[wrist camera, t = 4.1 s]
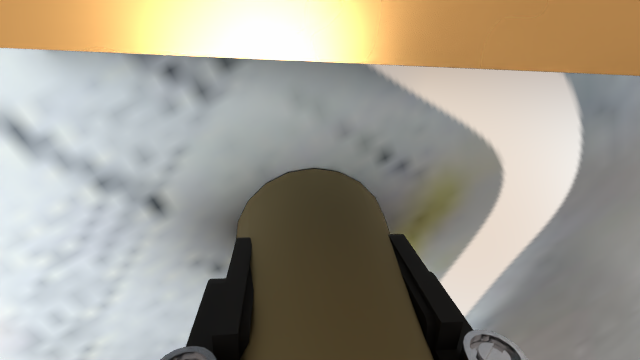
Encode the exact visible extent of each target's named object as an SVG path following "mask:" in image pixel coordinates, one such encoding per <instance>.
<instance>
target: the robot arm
mask: <svg viewBox="0 0 640 360" xmlns="http://www.w3.org/2000/svg"><path fill="white" fill-rule="evenodd" d="M388 236H389V238H390V241H391V244H392V247H393V250H394V253H395V256H396V259H397V262H398V265H399V268H400V271H401V274H402V277H403V279H404V282H405V285H406V288H407V290H408V293H409V296H410V299H411V301H412V304H413V307H414V310H415V312H416V315H417V318H418V320H419V323H420V326H421V329H422V331H423V334H424V337H425V340H426V342H427V344H428V346H429V348H430V351H431V354H432V356H433V359H434V360H528V359H527V357H526V355H525V354H524V353H523V352H522V350H521V349H520V348H519V347H518V346H517V345H516V344H514V343H513V342H512V341H511V340H509V339H507V338H506V337H504V336H502V335H500V334H498V333H495V332H493V331H488V330H473V329H472V328H471V326H470V325H469V323H468V322H467V320H466V319H465V318H464V316H463V315H462V313H461V312H460V310H459V309H458V308H457V306H456V305H455V303H454V302H453V301H452V299H451V298H450V296H449V295H448V294H447V292H446V291H445V289H444V288H443V286H442V285H441V283H440V282H439V281H438V279H437V278H436V276H435V275H434V274H433V273H432V272H429V271H428V269H427V268H426V266H425V265H424V263H423V262H422V261H421V259H420V258H419V256H418V255H417V253H416V252H415V250H414V249H413V247H412V246H411V245H410V243H409V242H408V240H407V239H406V237H405V236H404V235H403V234H388ZM251 250H252V243H251V238H250V237H238V238H237V239H236V242H235V246H234V250H233V254H232V258H231V262H230V266H229V270H228V273H227V277H226V278H224V279H210V280H209V281H208V283H207V286H206V289H205V292H204V295H203V298H202V301H201V303H200V306H199V309H198V312H197V315H196V318H195V321H194V324H193V327H192V330H191V333H190V336H189V339H188V342H187V345H186V347H183V348H180V349H177V350H174V351H173V352H171V353H169V354H167V355H165V356H164V357H163V358H162V359H161V360H240V358H241V356H242V354H243V353H244V351H245V349H246V347H247V346H248V344H249V338H250V326H251V316H252V305H253V295H254V289H253V282H252V275H251V267H250V259H251Z"/></svg>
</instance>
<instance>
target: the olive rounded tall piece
mask: <svg viewBox="0 0 640 360" xmlns="http://www.w3.org/2000/svg"><path fill="white" fill-rule="evenodd" d="M388 234H390V232H389V230H388V227H387V224H386V221H385V218H384V216H383V213H382V211H381V209H380V207H379V205H378V202H377V200H376V198H375V197H374V196H373V195H372V194H371V193H370V192H369V191H368V190H367V189H366V188H365V187H364V186H363V185H362V184H361V183H360V182H358V181H356V180H354V179H352V178H350V177H348V176H346V175H344V174H342V173H339V172H335V171H328V170H320V169H308V170H302V171H296V172H290V173H287V174H285V175H283V176H281V177H279V178H277V179H275V180H273V181H271V182H269V183H267V184H265V185H264V186H263V187H262V188H261V189H260V190H259V191H258V192H257V193H256V194H255V195H254V196H253V197H252V198H251V199H250V200H249V201H248V202H247V204H246V206H245V208H244V210H243V212H242V215H241V217H240V219H239V221H238V227H237V236H236V239H237V238H238V237H250V238H251V243H252V250H251V259H250V267H251V275H252V282H253V289H254V295H253V305H252V316H251V326H250V338H249V344H248V346H247V347H246V349H245V351H244V353H243V354H242V356H241V358H240V360H434V359H433V356H432V354H431V351H430V348H429V346H428V344H427V342H426V340H425V337H424V334H423V331H422V329H421V326H420V323H419V320H418V318H417V315H416V312H415V310H414V307H413V304H412V301H411V299H410V296H409V293H408V290H407V288H406V285H405V282H404V279H403V277H402V274H401V271H400V268H399V265H398V262H397V259H396V256H395V253H394V250H393V247H392V244H391V241H390V238H389V236H388Z"/></svg>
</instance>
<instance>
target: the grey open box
mask: <svg viewBox="0 0 640 360" xmlns="http://www.w3.org/2000/svg"><path fill="white" fill-rule="evenodd" d="M0 48H16V49H39V50H62V51H84V52H107V53H130V54H153V55H175V56H198V57H221V58H244V59H267V60H289V61H312V62H335V63H358V64H380V65H403V66H426V67H449V68H473V69H495V70H518V71H541V72H564V73H587V74H610V75H633V76H640V0H0Z"/></svg>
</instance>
